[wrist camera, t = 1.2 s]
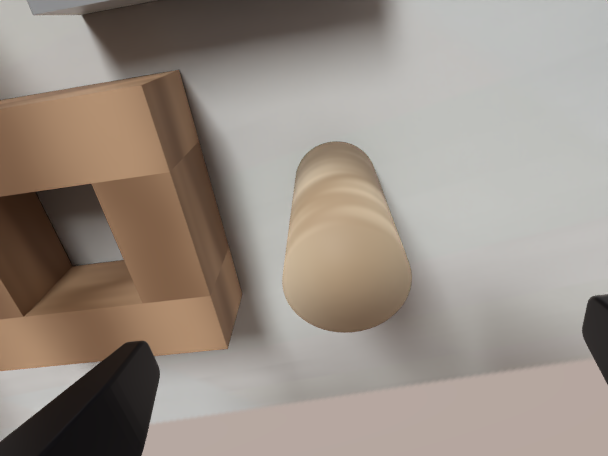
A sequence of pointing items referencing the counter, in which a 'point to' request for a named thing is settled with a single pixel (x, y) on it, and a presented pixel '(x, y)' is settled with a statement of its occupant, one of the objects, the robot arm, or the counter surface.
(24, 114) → the brown square frame
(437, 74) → the counter surface
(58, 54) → the counter surface
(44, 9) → the gray square tray
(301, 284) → the beige wooden peg
